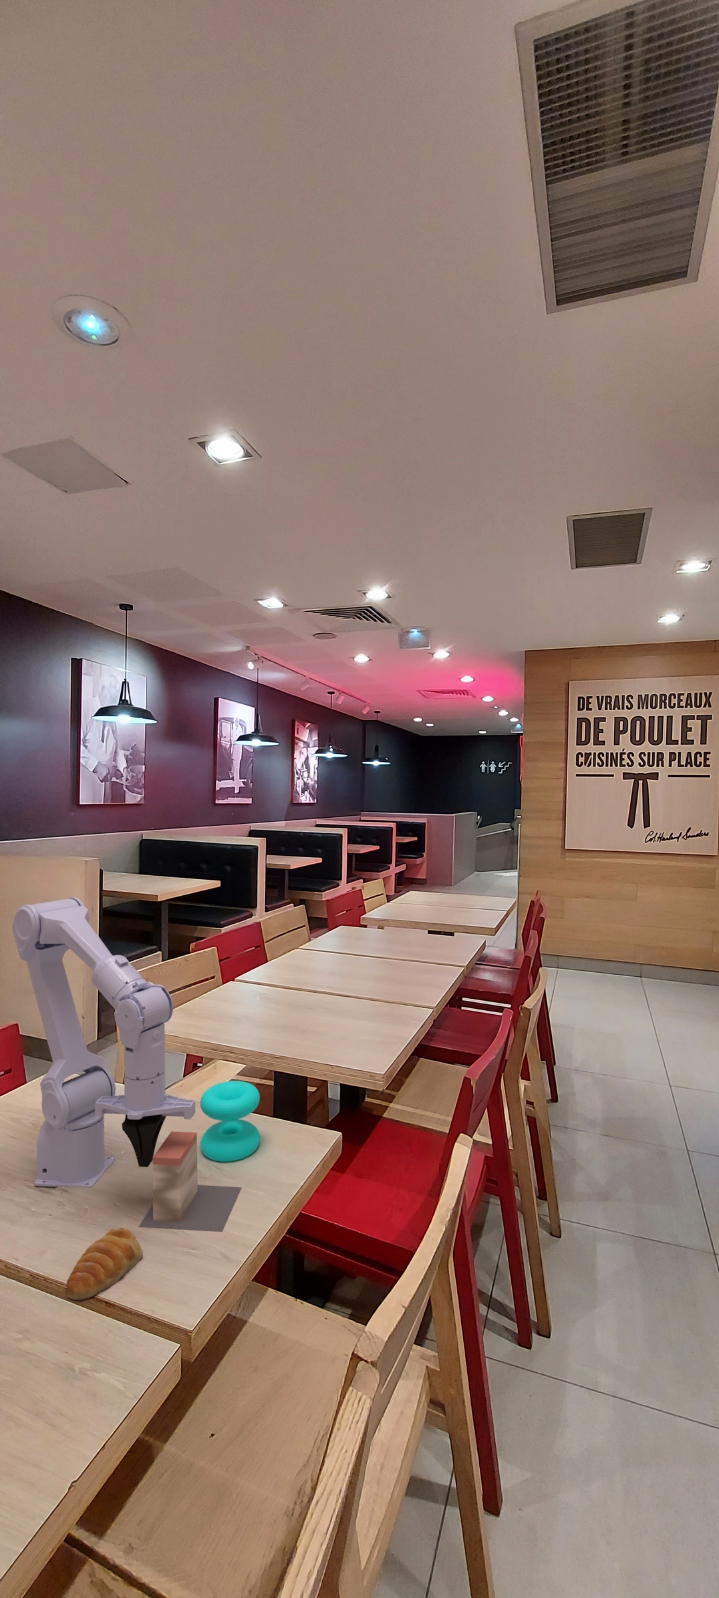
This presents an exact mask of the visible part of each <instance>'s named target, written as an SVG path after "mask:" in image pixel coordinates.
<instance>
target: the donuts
mask: <svg viewBox="0 0 719 1598" xmlns="http://www.w3.org/2000/svg"><path fill="white" fill-rule="evenodd" d="M260 1099H261V1096H260V1092H259V1090H258V1089H257V1087H256V1086H255V1085H253V1084H252V1083H249V1082H247V1081H246V1082H245V1081H242V1080H229V1081H223V1082H218V1083H217V1084H214V1085H212V1086H210V1087H208V1088H207V1089H206V1090H205V1091H204V1092H203V1093H202V1095H201V1097H200V1101H199V1104H200V1105H199V1106H200V1109H201V1111H202V1113H203V1114H205V1116H207V1117H208V1118H209V1119H210V1118H211V1119H212V1120H216V1121H219V1122H217V1123H214V1124H212V1125H211V1126H210V1127H208V1128H207V1129H206V1130H205V1132H204V1133H203V1134H202V1137H201V1140H200V1148H201V1149H200V1150H201V1152H202V1154H203V1155H204V1156H205V1157H207V1158H208V1159H209V1160H211V1161H215V1162H218V1163H219V1162H222V1163H223V1162H224V1163H228V1162H235V1161H240V1160H242V1159H245V1158H247V1157H249V1156H250V1155H252V1154H253V1153H254V1152H255V1151H256V1150H257V1149H258V1147H259V1146H260V1145H259V1144H260V1141H261V1135H260V1134H261V1133H260V1131H259V1129H258V1127H256V1125H254V1124H253V1123H252V1122H251V1121H247V1120H244V1119H243V1118H246V1117H247V1116H249V1115H250V1114H252V1113H253V1112H254V1111H255V1110H256V1109H257V1107H258V1106H259V1104H260Z"/></svg>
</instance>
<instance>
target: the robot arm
mask: <svg viewBox="0 0 719 1598" xmlns="http://www.w3.org/2000/svg"><path fill="white" fill-rule="evenodd" d="M11 928H12V933H13V938H14V941H15V945H16V949H17V951H18V955H19V959H21V960H22V961H25V963H26V966H27V969H28V973H29V978H30V981H31V985H32V989H33V991H34V992H33V993H34V996H35V1000H36V1003H37V1007H38V1008H37V1009H38V1011H39V1015H40V1019H41V1022H42V1027H43V1030H44V1034H45V1037H46V1041H47V1044H48V1049H49V1053H50V1055H51V1060H52V1065H51V1067H50V1068H49V1070H48V1071H47V1073H46V1074H45V1075H44V1076H43V1078H42V1079H41V1081H40V1084H39V1086H40V1091H41V1111H42V1115H43V1117H44V1119H45V1120H44V1122H43V1123H42V1124H41V1126H40V1128H39V1131H38V1135H37V1140H36V1168H37V1169H36V1175H37V1176H36V1178H37V1179H36V1180H35V1181H34V1186H35V1187H36V1186H37V1187H50V1188H51V1187H53V1188H54V1187H56V1188H57V1187H67V1188H68V1187H69V1188H87V1189H89V1188H93V1187H94V1186H95V1185H96V1184H97V1182H99V1180H100V1178H101V1177H102V1176H103V1175H104V1174H105V1172H106V1171H107V1170H108V1169H109V1167H110V1166H112V1164H113V1163H114V1161H115V1160H116V1158H115V1157H114V1156H105V1114H107V1115H108V1114H109V1115H125V1117H124V1121H122V1123H121V1129H122V1131H123V1132H124V1134H125V1135H126V1136H127V1138H128V1140H129V1141H130V1143H131V1146H132V1148H133V1151H134V1154H135V1157H136V1160H137V1163H138V1167H139V1168H148V1167H149V1166H150V1164H151V1163H153V1156H154V1155H155V1149H156V1145H157V1142H158V1137H159V1136H160V1133H161V1130H162V1128H163V1125H164V1122H165V1120H166V1118H167V1117H178V1118H179V1117H181V1118H182V1117H183V1119H184V1120H192V1118H193V1117H194V1115H195V1114H196V1099H187V1098H181V1097H178V1096H174V1095H170V1094H166V1043H165V1042H166V1041H165V1040H166V1034H165V1033H166V1029H165V1028H166V1026H165V1023H167V1022H169V1021H170V1020H171V1018H172V1016H173V1014H174V1002H173V999H172V996H171V994H170V992H169V991H168V990H167V988H166V987H165V986H164V985H162V984H161V983H160V984H159V983H157V984H154V983H153V982H152V981H147V980H146V979H145V978H144V977H143V976H142V975H141V974H140V972H139V971H138V970H137V969H136V968H135V967H134V966H133V964H131V963H130V961H129V960H128V959H127V957H126V956H124V955H121V954H115V955H113V954H112V953H111V951H110V950H109V949H108V947H107V946H106V945H105V942H103V940H102V939H101V938H100V936H99V935H98V934H97V932H96V931H95V929H94V928H93V927H92V926H91V925H90V913H89V909H88V908H87V907H86V906H85V904H84V903H83V902H82V900H81V899H79V898H78V897H76V896H75V897H74V896H70V897H68V898H64V899H57V900H53V901H47V902H46V901H45V902H39V903H35V904H23V905H21V906H19V908H18V909H17V910H16V912H15V915H14V918H13V922H12V925H11ZM69 950H70V951H72V953H74V954H75V955H76V956H77V957H78V958H79V959H80V960H81V961H82V962H84V964H85V965H87V967H89V968H90V970H92V975H91V982H92V984H93V986H95V988H96V989H97V990H98V991H99V992H100V993H101V995H102V996H103V997H104V998H105V999H106V1001H107V1002H108V1003H109V1004H110V1005H111V1006H112V1008H113V1009H114V1010H115V1011H114V1012H113V1014H114V1015H113V1016H114V1020H115V1024H116V1027H117V1028H118V1031H119V1041H120V1044H121V1046H123V1061H124V1062H123V1067H124V1069H123V1070H124V1071H123V1072H124V1074H123V1075H124V1080H123V1081H124V1085H123V1086H124V1087H123V1088H124V1094H119V1095H116V1088H117V1086H116V1082H115V1079H114V1076H113V1074H112V1073H111V1072H110V1071H109V1069H108V1067H107V1063H106V1061H105V1057H103V1056H101V1055H99V1054H96V1053H93V1052H91V1051H89V1050H88V1048H87V1045H86V1041H85V1037H84V1033H83V1030H82V1027H81V1023H80V1020H79V1015H78V1012H77V1009H76V1005H75V1001H74V997H73V994H72V990H71V987H70V984H69V980H68V977H67V973H66V969H65V965H64V961H63V959H64V956H65V954H66V952H68V951H69ZM81 1072H83V1073H81ZM77 1073H81V1074H79V1075H77V1076H75V1077H73V1078H71V1079H68V1078H69V1077H71V1076H73V1075H76V1074H77ZM66 1079H68V1080H66Z"/></svg>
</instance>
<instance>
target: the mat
mask: <svg viewBox="0 0 719 1598" xmlns="http://www.w3.org/2000/svg"><path fill="white" fill-rule="evenodd" d="M242 1188H243V1187H242V1186H225V1185H205V1184H203V1185H202V1184H197V1193H196V1194H195V1196H194V1198H193V1200H192V1202H191V1204H190V1205H189V1207H188V1209H187V1211H186V1213H185V1214H184V1216H183V1218H182V1220H181V1222H177V1221H159V1220H153V1204H152V1205H151V1206H150V1208H149V1210H148V1211H147V1213H146V1214H145V1215H144V1217H143V1219H142V1221H141V1222H140V1224H139V1225H138V1228H147V1229H148V1228H150V1229H167V1230H180V1231H181V1230H182V1231H184V1230H185V1231H199V1232H200V1231H201V1232H216V1233H217V1232H218V1233H223V1231H224V1228H225V1227H226V1224H227V1223H228V1220H229V1217H230V1215H231V1214H232V1211H233V1208H234V1206H235V1204H236V1202H237V1199H238V1197H239V1195H240V1192H241V1190H242Z"/></svg>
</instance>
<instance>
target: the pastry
mask: <svg viewBox="0 0 719 1598" xmlns="http://www.w3.org/2000/svg"><path fill="white" fill-rule="evenodd" d="M143 1251H144V1250H143V1249H142V1247H141V1244H140V1242H139V1241H138V1240H137V1238H136V1236H135V1234H134V1233H133V1232H132V1231H131V1230H129V1229H126V1228H124V1227H118V1228H117V1229H116V1228H110V1230H109V1231H108V1232H106V1233H105V1234H104V1236H102V1237H101V1238H100V1239H98V1240H95V1242H94V1243H93V1244H91V1245H89V1246H88V1247H87V1248H86V1250H85V1252H84V1253H83V1254H82V1255H81V1257H80V1258H79V1259H78V1260H77V1262H76V1264H75V1265H74V1267H73V1268H72V1269H73V1270H72V1271H71V1273H70V1275H69V1277H68V1278H67V1280H66V1288H67V1290H66V1297H67V1298H69V1299H71V1300H74V1301H75V1300H76V1301H81V1300H87V1299H90V1298H92V1297H94V1296H95V1295H97V1294H98V1293H100V1292H102V1291H104V1290H105V1289H107V1288H109V1287H111V1286H113V1285H114V1284H116V1283H117V1282H118V1281H119V1280H121V1278H122V1277H124V1275H125V1274H126V1273H128V1272H129V1271H131V1270H132V1269H133V1268H134V1267H135V1265H136V1264H137V1263H139V1262H140V1261H141V1259H142V1257H143V1256H144V1255H143V1254H144V1252H143Z"/></svg>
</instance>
